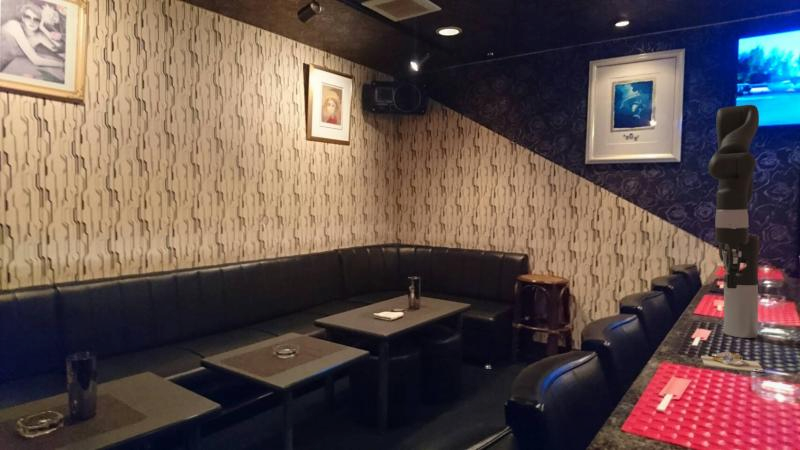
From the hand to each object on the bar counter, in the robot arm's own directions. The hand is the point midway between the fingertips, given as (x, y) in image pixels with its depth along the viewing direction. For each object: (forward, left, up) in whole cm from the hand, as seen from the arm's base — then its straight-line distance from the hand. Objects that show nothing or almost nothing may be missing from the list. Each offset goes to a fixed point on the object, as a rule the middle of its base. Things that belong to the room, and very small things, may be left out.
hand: (731, 287), depth 134 cm
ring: (-1, -1, -20) cm, 20 cm away
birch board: (+5, -1, -20) cm, 21 cm away
